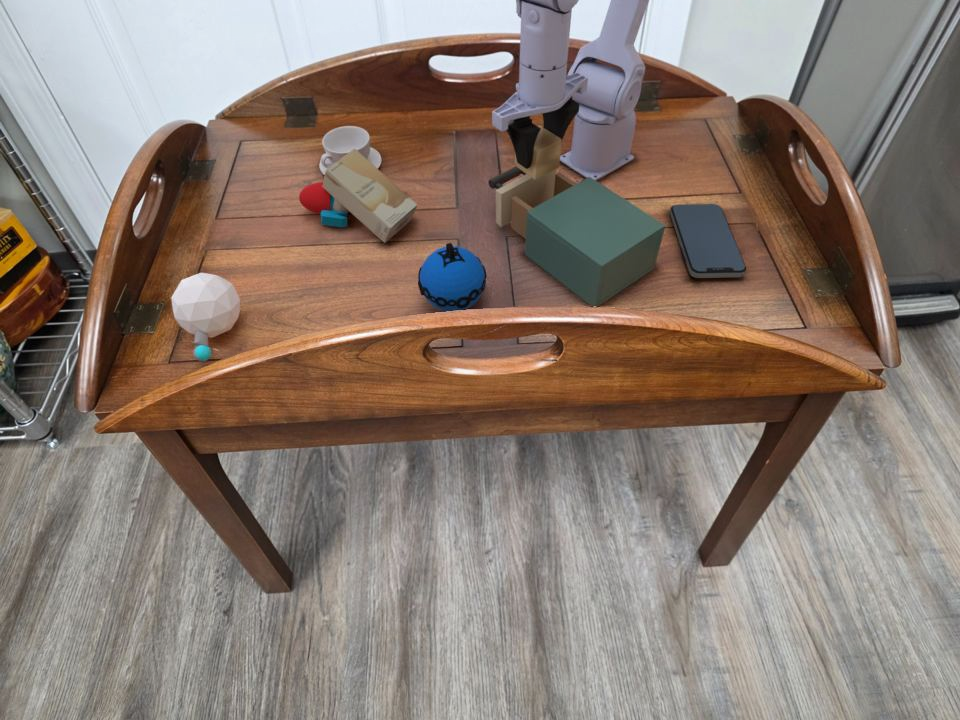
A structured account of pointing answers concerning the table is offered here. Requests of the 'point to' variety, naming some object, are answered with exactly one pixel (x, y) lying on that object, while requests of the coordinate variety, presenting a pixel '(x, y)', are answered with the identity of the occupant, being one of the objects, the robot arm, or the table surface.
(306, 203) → the toy figure
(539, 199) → the drawer
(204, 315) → the perfume bottle
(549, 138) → the block
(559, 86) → the robot arm
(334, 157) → the teacup
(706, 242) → the smartphone
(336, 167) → the cosmetic box
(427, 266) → the ornament
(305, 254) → the table surface
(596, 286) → the cabinet
